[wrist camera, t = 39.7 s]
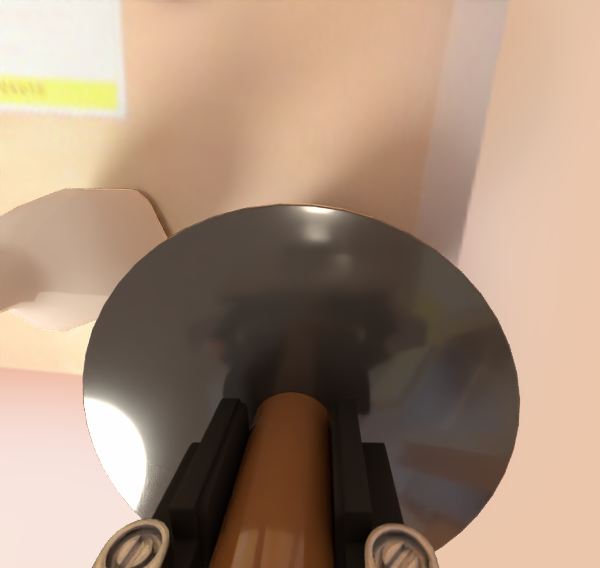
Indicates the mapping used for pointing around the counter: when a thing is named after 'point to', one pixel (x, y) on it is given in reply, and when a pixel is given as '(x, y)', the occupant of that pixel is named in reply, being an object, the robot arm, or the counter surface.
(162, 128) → the counter surface
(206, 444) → the robot arm
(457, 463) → the lid
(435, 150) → the counter surface
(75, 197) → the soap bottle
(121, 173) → the counter surface
